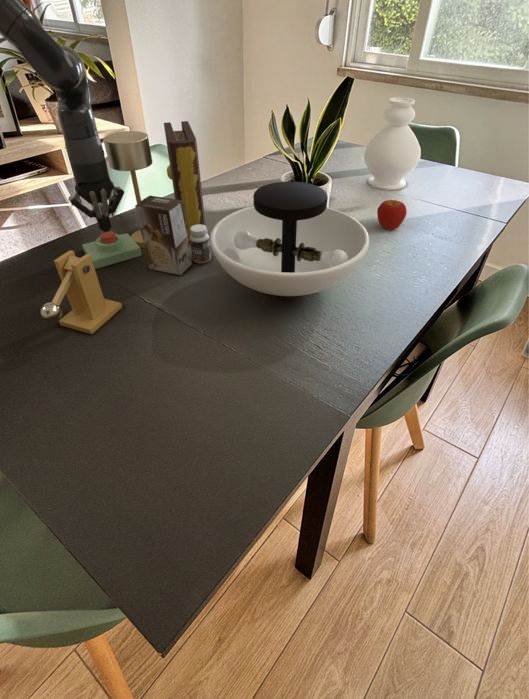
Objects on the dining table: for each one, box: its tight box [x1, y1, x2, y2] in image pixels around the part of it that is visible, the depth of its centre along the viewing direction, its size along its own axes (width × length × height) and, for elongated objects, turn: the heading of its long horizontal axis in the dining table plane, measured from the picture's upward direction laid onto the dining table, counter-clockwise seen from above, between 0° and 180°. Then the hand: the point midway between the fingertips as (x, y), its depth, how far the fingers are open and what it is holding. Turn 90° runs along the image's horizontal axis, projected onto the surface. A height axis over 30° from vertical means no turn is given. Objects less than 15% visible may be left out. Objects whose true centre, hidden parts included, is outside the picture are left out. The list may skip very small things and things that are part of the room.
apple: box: [376, 199, 407, 231], centre depth 117 cm, size 8×8×8 cm
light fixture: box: [209, 181, 370, 297], centre depth 91 cm, size 33×33×21 cm
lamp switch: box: [39, 256, 81, 323], centre depth 80 cm, size 13×4×4 cm, turn 158°
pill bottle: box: [189, 224, 212, 264], centre depth 105 cm, size 5×5×8 cm
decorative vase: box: [363, 96, 422, 191], centre depth 137 cm, size 18×18×25 cm
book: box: [163, 120, 206, 245], centre depth 114 cm, size 22×8×25 cm, turn 14°
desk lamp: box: [102, 130, 153, 249], centre depth 106 cm, size 10×10×26 cm
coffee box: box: [134, 195, 193, 276], centre depth 99 cm, size 9×6×16 cm
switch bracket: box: [53, 250, 123, 335], centre depth 85 cm, size 10×8×14 cm
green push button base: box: [81, 232, 143, 270], centre depth 108 cm, size 12×10×4 cm
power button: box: [99, 230, 117, 244], centre depth 107 cm, size 4×4×2 cm
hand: (105, 230), depth 105 cm, fingers closed
